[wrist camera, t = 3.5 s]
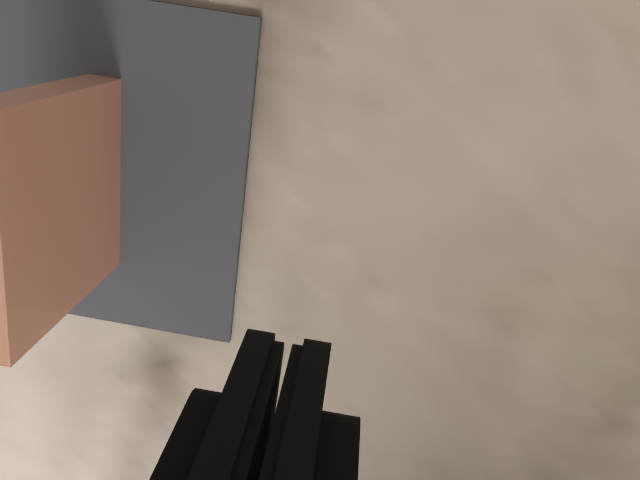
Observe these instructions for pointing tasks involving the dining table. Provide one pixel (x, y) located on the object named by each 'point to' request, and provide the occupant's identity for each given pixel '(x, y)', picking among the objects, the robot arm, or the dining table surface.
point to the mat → (157, 144)
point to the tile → (56, 202)
